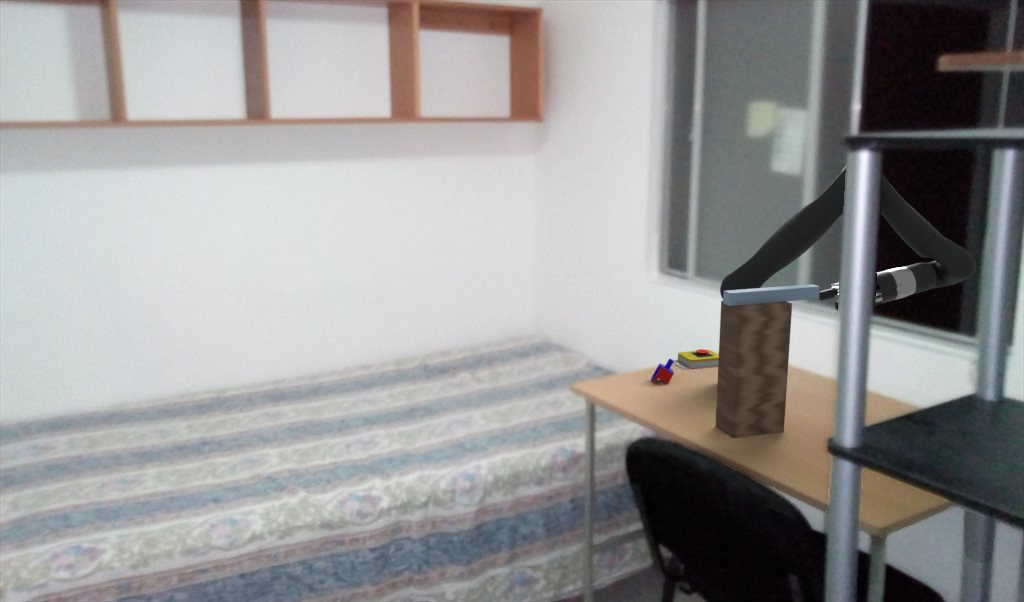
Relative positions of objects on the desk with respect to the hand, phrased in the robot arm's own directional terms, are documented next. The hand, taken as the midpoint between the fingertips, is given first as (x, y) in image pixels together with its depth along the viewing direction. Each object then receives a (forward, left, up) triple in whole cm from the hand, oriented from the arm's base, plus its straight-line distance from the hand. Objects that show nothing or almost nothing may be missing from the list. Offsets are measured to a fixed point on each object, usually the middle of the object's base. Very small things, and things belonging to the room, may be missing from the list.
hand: (827, 301), depth 196 cm
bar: (+15, -5, +1) cm, 16 cm away
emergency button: (-13, -51, -31) cm, 61 cm away
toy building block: (+9, -45, -31) cm, 56 cm away
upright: (+19, -6, -31) cm, 37 cm away
